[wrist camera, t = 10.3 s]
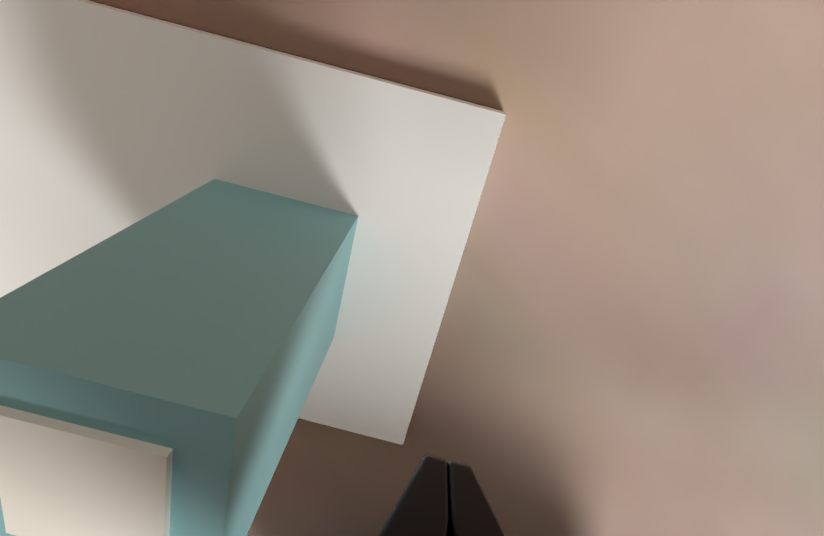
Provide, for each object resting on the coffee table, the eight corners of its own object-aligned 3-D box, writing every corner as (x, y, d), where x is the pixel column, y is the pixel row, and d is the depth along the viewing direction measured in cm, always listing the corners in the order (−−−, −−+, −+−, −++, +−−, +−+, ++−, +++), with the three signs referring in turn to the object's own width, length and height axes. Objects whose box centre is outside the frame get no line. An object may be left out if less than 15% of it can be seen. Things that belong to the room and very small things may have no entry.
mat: (504, 111, 13) (506, 114, 12) (404, 432, 17) (402, 444, 17) (-118, -55, 12) (-145, -59, 12) (-50, 315, 17) (-67, 324, 17)
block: (358, 216, 14) (231, 427, 6) (333, 337, 15) (211, 616, 8) (214, 178, 14) (-88, 346, 6) (205, 304, 15) (-39, 554, 8)
